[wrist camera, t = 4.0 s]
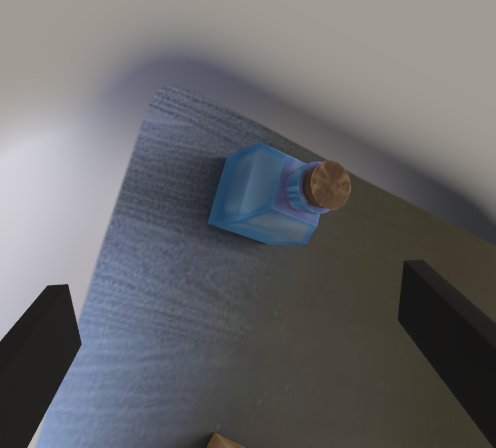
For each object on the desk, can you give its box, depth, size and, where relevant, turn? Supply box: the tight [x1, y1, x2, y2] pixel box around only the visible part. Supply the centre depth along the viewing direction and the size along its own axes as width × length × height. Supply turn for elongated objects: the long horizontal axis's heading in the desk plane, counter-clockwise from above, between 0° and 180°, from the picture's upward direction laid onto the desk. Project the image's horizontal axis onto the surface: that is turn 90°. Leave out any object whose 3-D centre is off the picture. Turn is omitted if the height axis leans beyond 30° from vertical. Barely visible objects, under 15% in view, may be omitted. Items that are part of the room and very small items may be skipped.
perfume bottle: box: [207, 142, 351, 245], centre depth 30 cm, size 6×6×12 cm
